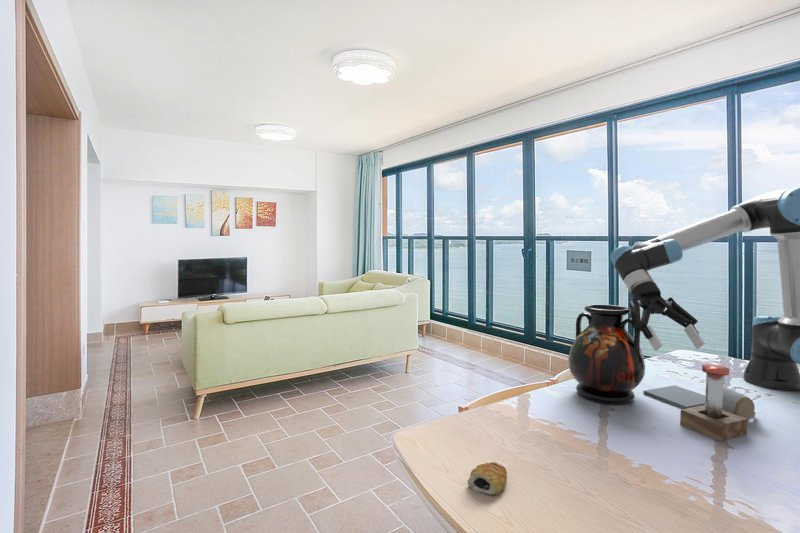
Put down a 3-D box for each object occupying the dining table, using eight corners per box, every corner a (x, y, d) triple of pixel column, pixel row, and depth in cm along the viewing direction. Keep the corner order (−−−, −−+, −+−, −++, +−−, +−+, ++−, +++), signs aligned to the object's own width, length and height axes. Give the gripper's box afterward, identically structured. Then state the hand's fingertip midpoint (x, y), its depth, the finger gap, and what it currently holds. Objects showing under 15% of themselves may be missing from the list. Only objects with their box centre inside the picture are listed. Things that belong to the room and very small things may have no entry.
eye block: (705, 418, 116) (706, 404, 116) (746, 434, 106) (747, 418, 106) (680, 424, 112) (680, 409, 112) (719, 441, 103) (720, 425, 103)
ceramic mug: (736, 425, 112) (738, 396, 111) (705, 413, 120) (707, 386, 119) (764, 421, 115) (766, 393, 114) (733, 409, 123) (735, 383, 122)
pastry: (483, 467, 91) (484, 450, 91) (514, 477, 87) (515, 460, 87) (465, 489, 83) (465, 470, 83) (498, 501, 80) (498, 481, 79)
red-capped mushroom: (708, 423, 113) (711, 363, 112) (731, 432, 108) (734, 369, 107) (694, 426, 111) (696, 365, 110) (716, 435, 106) (719, 371, 105)
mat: (674, 388, 140) (674, 385, 140) (719, 403, 127) (719, 400, 127) (643, 393, 135) (643, 390, 135) (686, 410, 122) (686, 406, 122)
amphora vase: (554, 394, 134) (556, 306, 132) (586, 380, 148) (588, 300, 147) (627, 415, 118) (630, 315, 116) (654, 396, 132) (657, 307, 130)
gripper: (669, 294, 138) (708, 352, 124) (600, 295, 133) (633, 355, 119) (684, 279, 132) (726, 338, 118) (612, 280, 127) (648, 341, 114)
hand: (680, 347), depth 119 cm, fingers open, 13 cm apart
